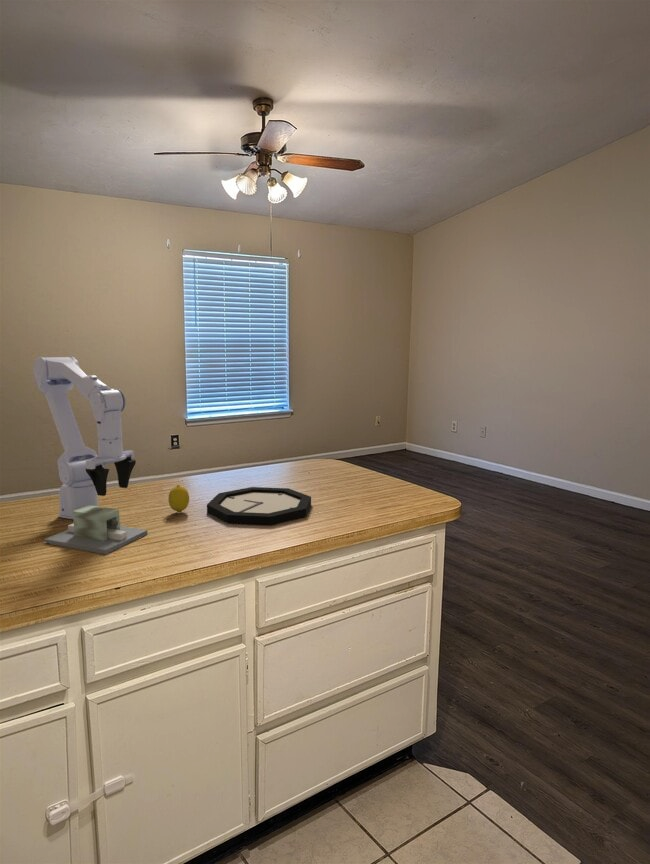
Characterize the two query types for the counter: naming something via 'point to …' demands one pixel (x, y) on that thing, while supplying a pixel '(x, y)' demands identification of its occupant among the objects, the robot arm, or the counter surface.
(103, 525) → the cabinet block
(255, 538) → the counter surface
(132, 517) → the counter surface
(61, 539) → the cleat board
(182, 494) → the lemon
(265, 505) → the wall clock
